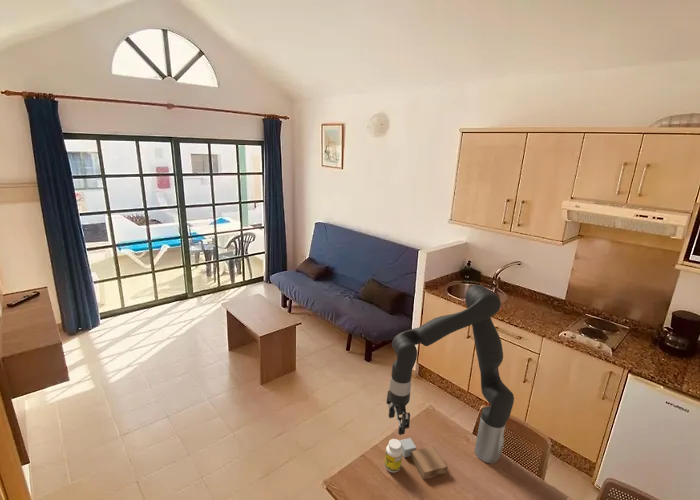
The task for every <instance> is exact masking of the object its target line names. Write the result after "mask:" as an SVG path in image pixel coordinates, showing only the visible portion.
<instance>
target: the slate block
mask: <svg viewBox="0 0 700 500" xmlns="http://www.w3.org/2000/svg"><path fill="white" fill-rule="evenodd" d="M398 440H399V439H398ZM399 441H400V442H401V448H402V457H403V458H404V459H405V458H408V457H411V453H412V451H415V450H417V446H416V445H415V444H416V443H414V441H413V439H412V438H411V437H408V438H403V439H400V440H399Z"/></svg>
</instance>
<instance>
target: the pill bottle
mask: <svg viewBox="0 0 700 500" xmlns="http://www.w3.org/2000/svg"><path fill="white" fill-rule="evenodd" d="M384 455H385V456H384V467H385V469H386V470H387V471H388V472H390V473H397V472H399V471H400V470H401V467H402V457H403V455H402V448H401V442H400V441H399V439H396V438H391V439H389V441H388V444H387V445H386V448H385V454H384Z"/></svg>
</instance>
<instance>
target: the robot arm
mask: <svg viewBox="0 0 700 500" xmlns="http://www.w3.org/2000/svg"><path fill="white" fill-rule="evenodd" d="M464 301H465V305H466V309H465V308H464V310H461V311H459V312H455V313H451V314H446V315H441V316H438V317H435V318H432V319H431V320H428V321H426V322H425V323H423V324H422V325H420V326H419V327H415V328H411V329H409V330H405V331H402V332H400V333H398V334H396V336H394V337H393V339H392V341H391V346H392V349H393V351H394V353H395V354H396V360H394V361H393V363H392V367H391V376H390V380H389V381H390V382H389V390H388V391H387V395H386V405H388V406H387V407H388V418H389V419H393V418H395V416H396V420H397V421H398V432H397V434H398V435H400V436H401V435H404V434H405V433H406V429H409V428H410V423H411V421H410V420H411V413H410V412H407V405H408V404H409V402H410V399H411V398H410V397H411V390H412V389H411V388H412V377H413V376H412V373H413V369H414V366H415V364H416V361H417V358H418V350H417V347H416V346H417V345H420V344H421V345H423V346H424V347H429V346H431V345H433V344H434V343H436V342H438V341H439V340H442V339H443V338H444V337H447V336H449V335H450V334H452V333H454V332H457V331H459V330H462V329H464V328H467V327H470V326H471V328H472V333H473V334H472V335H473V341H474V345H475V352H476V357H477V361H478V368H479V372H480V388H481V389H480V390H481V393H482V395H483V397H484V398H485V400H486V402H488V403H489V405H488V406H485V407H483V408H482V409H481V414H480V419H479V424H478V431H477V435H476V441H475V447H474V453H475V456H476V457H477V458H478V459H479V460H480V461H482V462H484V463H486V464H495V463H497V462H498V460H500V458H501V457H502V452H503V449H504V443H505V437H504V433H505V429H506V424H507V421H508V420H509V419H510V417H511V412H512V411H513V405H514V401H515V396H514V393H513V392H512V390H510V388H508V386H507V385H506V384H505V383H504V382H503V381H502V379H501V376H500V371H499V367H500V366H501V364H502V363H503V360H504V351H503V344H502V340H501V338H500V334H499V333H498V331H497V328H496V327H495V324H494V322H493V320H492V318H491V317H494V316H495V315H496V314H497V313H499V310H500V309H501V307H502V302H501V299H500V297H498V295H496V294H495V293H494V292H493V291H492V290H490V289H488V288H487V287H486V286H483V285H481V284H473V285H471V286H470V287H469V288H468V289H467V290H466V293H465V295H464Z"/></svg>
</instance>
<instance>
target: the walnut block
mask: <svg viewBox="0 0 700 500" xmlns="http://www.w3.org/2000/svg"><path fill="white" fill-rule="evenodd" d="M410 459H411V461H412V462H413V465H414V466H415V468H416V469H417V472H418V474H419V475H420V477H421V479H422V480H429V479H432V478H435V477H438V476H439V477H441V476H443V475H446V474H448V465H447V464H446V462H445V460H444V459H443V457H442V456H441V454H440V453H439V451H438V450H437V448H436V447H435V446H434V445H432V446H428V447H427V446H426V447H424V448H421V449H419V448H418V449H416V450H415V451H412V453H411V456H410Z"/></svg>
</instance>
